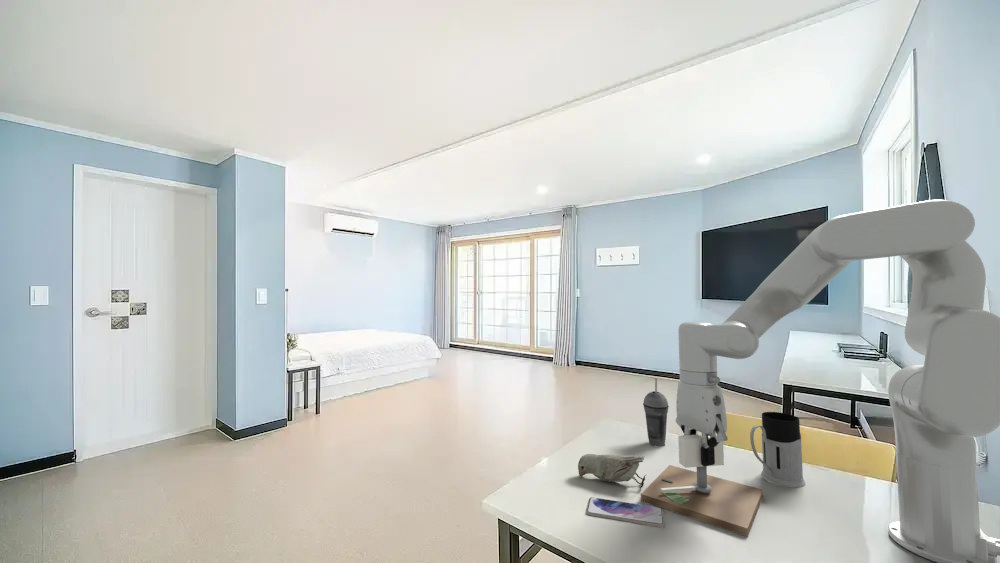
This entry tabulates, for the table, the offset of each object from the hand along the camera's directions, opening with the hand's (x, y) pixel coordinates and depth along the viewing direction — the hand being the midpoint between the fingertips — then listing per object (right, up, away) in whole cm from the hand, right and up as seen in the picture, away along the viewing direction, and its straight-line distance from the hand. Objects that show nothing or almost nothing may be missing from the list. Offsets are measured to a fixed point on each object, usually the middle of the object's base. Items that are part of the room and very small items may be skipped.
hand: (700, 460), depth 86 cm
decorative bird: (-18, -9, +8) cm, 21 cm away
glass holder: (+22, -9, +8) cm, 24 cm away
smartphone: (-19, -9, -5) cm, 21 cm away
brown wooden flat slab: (0, -8, 0) cm, 8 cm away
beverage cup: (+3, -10, +32) cm, 33 cm away
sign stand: (-2, -6, -1) cm, 7 cm away
